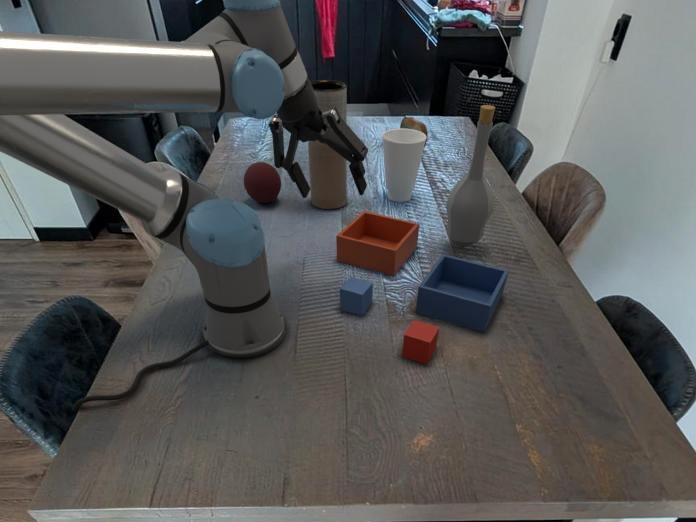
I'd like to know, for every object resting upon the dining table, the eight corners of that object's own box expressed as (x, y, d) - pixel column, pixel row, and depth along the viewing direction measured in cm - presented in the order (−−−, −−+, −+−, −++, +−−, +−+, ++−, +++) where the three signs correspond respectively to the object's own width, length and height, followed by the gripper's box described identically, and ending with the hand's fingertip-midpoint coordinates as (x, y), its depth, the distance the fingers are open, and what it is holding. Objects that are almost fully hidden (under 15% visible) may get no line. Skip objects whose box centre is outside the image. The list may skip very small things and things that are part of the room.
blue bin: (484, 332, 94) (490, 306, 89) (415, 312, 98) (418, 286, 93) (502, 295, 103) (509, 270, 98) (438, 278, 107) (442, 253, 102)
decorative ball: (273, 211, 128) (268, 172, 121) (240, 205, 130) (233, 167, 123) (288, 197, 135) (285, 159, 127) (257, 191, 137) (252, 154, 129)
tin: (398, 140, 170) (400, 113, 164) (406, 139, 171) (408, 112, 164) (419, 154, 160) (421, 126, 154) (427, 153, 161) (430, 125, 155)
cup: (398, 209, 131) (402, 146, 119) (370, 195, 137) (372, 133, 125) (428, 198, 136) (436, 137, 124) (400, 185, 142) (405, 125, 131)
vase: (353, 200, 134) (354, 83, 114) (334, 213, 128) (331, 92, 108) (324, 192, 137) (320, 77, 117) (304, 204, 132) (296, 85, 111)
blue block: (361, 316, 96) (362, 294, 93) (340, 309, 98) (339, 288, 94) (372, 303, 99) (373, 282, 96) (350, 297, 101) (351, 276, 97)
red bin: (393, 275, 107) (395, 250, 103) (336, 260, 111) (336, 235, 107) (417, 247, 116) (419, 223, 112) (363, 234, 120) (363, 210, 116)
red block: (426, 364, 87) (430, 342, 83) (401, 356, 88) (403, 334, 84) (436, 348, 90) (439, 327, 86) (411, 341, 91) (414, 319, 87)
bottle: (449, 260, 112) (474, 116, 90) (432, 238, 120) (451, 100, 98) (492, 255, 115) (527, 113, 93) (473, 234, 122) (500, 98, 100)
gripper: (360, 62, 77) (394, 175, 95) (240, 84, 88) (291, 182, 105) (345, 91, 75) (383, 202, 92) (223, 110, 85) (278, 206, 103)
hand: (334, 192), depth 99 cm, fingers open, 13 cm apart
